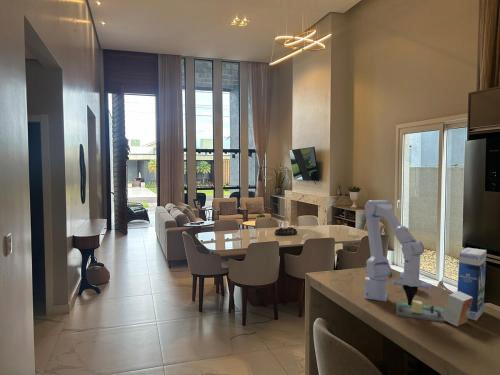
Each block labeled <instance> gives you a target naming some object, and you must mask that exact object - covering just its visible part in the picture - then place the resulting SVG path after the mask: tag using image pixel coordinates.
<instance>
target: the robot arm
mask: <svg viewBox="0 0 500 375" xmlns="http://www.w3.org/2000/svg"><path fill="white" fill-rule="evenodd" d="M364 212H365V221H366V228H367V236H368V242H369V243H368V244H369V250H370V252H369V253H370V257H369V258H368V259H367V260H366V261H365V262H366V268H365V273H366V275H367V276H365V278H364V288H363V293H364V296H363V297H364V299H367V300H374V301H375V300H376V301H382V302H387V301H388V294H387V283H388V282H387V281H388V280H389V277H390V276H391V274H392V267H391V265H390V262H389V259H388V258H386V257H385V256H384V251H383V250H384V249H383V243H382V242H383V241H382V236H381V228H380V221H381V219H382V218H383V219H385V221H386V222H387V223H388V224H389V225H390V226H391V228H392V229H393V235H394V237H395V238H396V240H397V241H398V242H399V244H400V246H401V252H402V254H403V261H404V262H403V272H404V277H403V279H401V278H399V279H398V278H391V286H402V288H403V287H404V289H403V290H404V293H405V296H406V299H407V303H408V305H411V304H412V300H413V299H414V297H415V296H416V295H417V292H418V288H419V289H425V290H429V291H431V290H432V283H428V282H423V281H420V268H421V267H420V266H421V256H422V255H423V254H424V252H425V247H424V244H423V242H422V241H420V240H418V239H416V237H414V236H413V234H412V233H411V231H410V230H409V228H408V227H407V226H406V225H405V226H404V225H402V224H401V222H400V220H399V219H398V217H397V216H396V214H395V213H394V211H393V205H392V204H391V202H390V200H388V199H377V200H372V199H369V200H367V202H366V203H365V205H364Z"/></svg>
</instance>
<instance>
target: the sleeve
mask: <svg viewBox="0 0 500 375" xmlns="http://www.w3.org/2000/svg"><path fill="white" fill-rule="evenodd" d="M422 305H423V301H420V300H412V308H411V309H412V312H414V313H421V314H422Z"/></svg>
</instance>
